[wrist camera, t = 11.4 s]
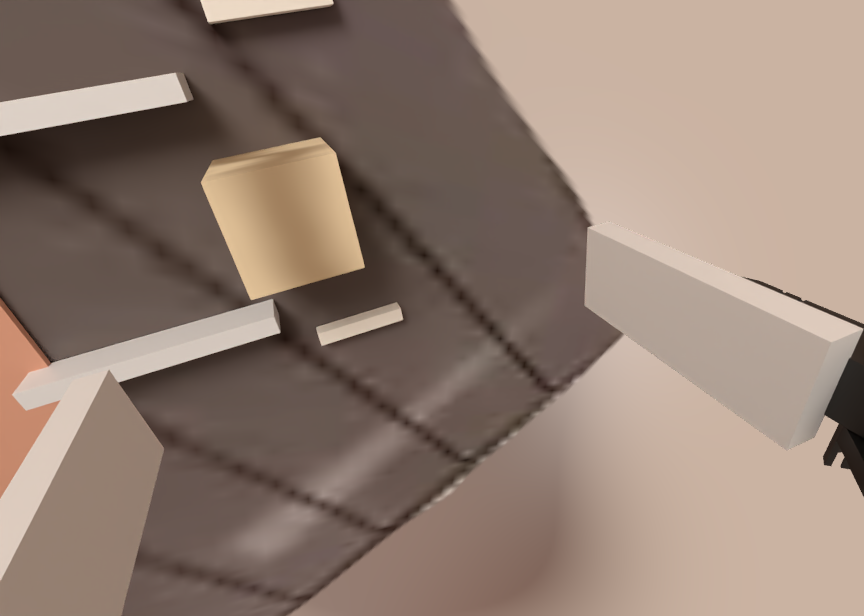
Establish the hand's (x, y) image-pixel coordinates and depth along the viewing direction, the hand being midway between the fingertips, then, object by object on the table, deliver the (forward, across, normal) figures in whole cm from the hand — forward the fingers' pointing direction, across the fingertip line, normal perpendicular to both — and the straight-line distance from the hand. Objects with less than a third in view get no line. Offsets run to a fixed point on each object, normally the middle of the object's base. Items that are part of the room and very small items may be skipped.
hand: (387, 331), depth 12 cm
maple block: (+17, -2, 0) cm, 17 cm away
